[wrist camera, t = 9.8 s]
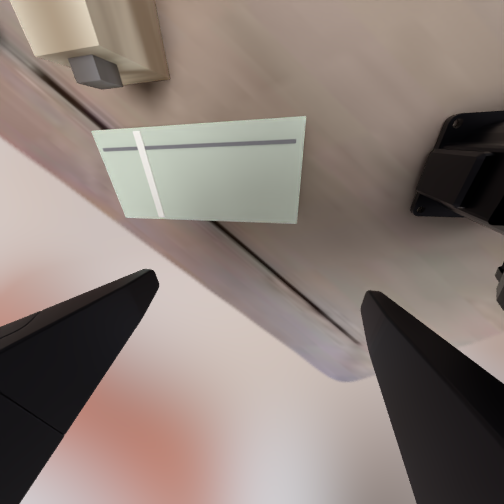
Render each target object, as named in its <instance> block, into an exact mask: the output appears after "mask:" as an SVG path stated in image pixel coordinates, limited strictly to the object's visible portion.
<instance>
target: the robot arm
mask: <svg viewBox="0 0 504 504" xmlns="http://www.w3.org/2000/svg"><path fill="white" fill-rule="evenodd" d="M457 119H458V121H459V122H458V125H457V126H456V127H455V128H453V123H454V121H455V120H457ZM416 190H417V194H416V196H415V199H414V201H413V204H412V206H411V210H410V211H411V213H412V214H414V215H416V216H435V217H466V218H468V219H470V220H472V221H475V222H477V223H479V224H481V225H483V226H486V227H488V228H490V229H492V230H494V231H496V232H499V233H501V234H503V235H504V111H492V112H476V113H461V114H456V115H453V116H451V117H449V118H448V119H447V120H446V122H445V124H444V126H443V128H442V131H441V133H440V136H439V138H438V141H437V143H436V146H435V148H434V150H433V151H432V152H431V153H430V155H429V158H428V160H427V163H426V165H425V168H424V170H423V173H422V175H421V178H420V181H419V183H418V186H417V188H416ZM419 207H422V209H421V210H420V211H417V209H418V208H419ZM495 277H496V278H497V280H498V281H499V284H498V286H497V302H498V303H499V305H500V306H501V308H502V309H503V310H504V263H503V265H502V266H500V267H498V269H497V272H496V274H495ZM158 288H159V282H158V279H157V277H156V274H155V272H154V271H153V270H150V269H143V270H140V271H138V272H136V273H133V274H130V275H128V276H125V277H123V278H120V279H118V280H116V281H113V282H111V283H108V284H106V285H103V286H101V287H98V288H96V289H94V290H91V291H88V292H86V293H83V294H81V295H79V296H76V297H74V298H71V299H69V300H67V301H64V302H61V303H59V304H56V305H54V306H52V307H49V308H47V309H44V310H42V311H39V312H37V313H34V314H32V315H29V316H27V317H24V318H22V319H19V320H17V321H14V322H12V323H9V324H6V325H4V326H1V327H0V504H19V503H20V502H21V500H22V499H23V498H24V496H25V495H26V493H27V492H28V490H29V488H30V487H31V486H32V484H33V483H34V481H35V480H36V478H37V476H38V475H39V473H40V472H41V470H42V469H43V467H44V466H45V464H46V463H47V461H48V460H49V458H50V457H51V455H52V454H53V452H54V451H55V449H56V448H57V446H58V445H59V443H60V442H61V440H62V439H63V437H64V434H66V432H67V431H68V429H69V428H70V426H71V425H72V423H73V422H74V420H75V419H76V417H77V416H78V414H79V413H80V411H81V410H82V408H83V407H84V405H85V404H86V402H87V401H88V399H89V398H90V396H91V395H92V393H93V392H94V390H95V389H96V387H97V385H98V384H99V383H100V381H101V380H102V378H103V377H104V375H105V374H106V372H107V371H108V369H109V368H110V366H111V365H112V363H113V362H114V360H115V359H116V357H117V356H118V354H119V353H120V351H121V350H122V348H123V347H124V345H125V344H126V342H127V341H128V339H129V338H130V336H131V335H132V333H133V332H134V330H135V329H136V327H137V325H138V324H139V323H140V321H141V319H142V318H143V316H144V314H145V312H146V311H147V309H148V307H149V305H150V303H151V301H152V299H153V298H154V296H155V294H156V292H157V290H158ZM361 315H362V320H363V325H364V331H365V336H366V341H367V346H368V350H369V354H370V358H371V361H372V364H373V367H374V370H375V373H376V377H377V380H378V383H379V386H380V389H381V392H382V395H383V399H384V402H385V405H386V408H387V411H388V414H389V418H390V421H391V424H392V427H393V430H394V433H395V437H396V440H397V443H398V446H399V449H400V452H401V455H402V459H403V462H404V465H405V468H406V471H407V474H408V478H409V481H410V484H411V487H412V490H413V493H414V496H415V500H416V503H417V504H504V384H503V383H502V382H500V381H499V380H498V379H496V378H495V377H494V376H492V375H491V374H490V373H488V372H487V371H486V370H484V369H483V368H482V367H480V366H479V365H478V364H476V363H475V362H474V361H472V360H471V359H470V358H468V357H467V356H466V355H464V354H463V353H462V352H460V351H459V350H458V349H456V348H455V347H454V346H452V345H451V344H450V343H448V342H447V341H446V340H444V339H443V338H442V337H440V336H439V335H438V334H436V333H435V332H434V331H432V330H431V329H430V328H428V327H427V326H426V325H424V324H423V323H422V322H420V321H419V320H418V319H416V318H415V317H414V316H412V315H411V314H410V313H408V312H407V311H406V310H404V309H403V308H402V307H400V306H399V305H398V304H396V303H395V302H394V301H392V300H391V299H390V298H388V297H387V296H386V295H384V294H383V293H382V292H380V291H371V290H369V291H367V292H366V294H365V296H364V299H363V302H362V305H361Z"/></svg>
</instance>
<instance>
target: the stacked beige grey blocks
mask: <svg viewBox="0 0 504 504" xmlns="http://www.w3.org/2000/svg"><path fill="white" fill-rule="evenodd" d="M10 2H11V4H12V6H13V9H14V11H15V13H16V15H17V18H18V20H19V22H20V24H21V26H22V29H23V31H24V33H25V35H26V37H27V40H28V42H29V44H30V46H31V49H32V51H33V53H34V55H35V57H38V58H41V59H44V60H48V61H51V62H54V63H57V64H60V65H63V66H66V67H70V68H71V69H72V71H73V74H74V76H75V79H76V81H77V83H79V84H83V85H86V86H90V87H94V88H98V89H110V88H119V87H123V85H128V84H136V83H144V82H152V81H160V80H168V79H170V76H169V71H168V66H167V61H166V56H165V51H164V46H163V41H162V36H161V31H160V26H159V20H158V15H157V10H156V5H155V0H10Z"/></svg>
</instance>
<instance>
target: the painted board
mask: <svg viewBox="0 0 504 504" xmlns="http://www.w3.org/2000/svg"><path fill="white" fill-rule="evenodd" d="M305 124H306V116H299V117H284V118H270V119H256V120H241V121H227V122H212V123H198V124H184V125H169V126H155V127H140V128H126V129H112V130H97V131H91V132H92V134H93V137H94V139H95V142H96V144H97V147H98V149H99V152H100V154H101V157H102V159H103V162H104V164H105V167H106V169H107V172H108V174H109V177H110V179H111V182H112V184H113V187H114V189H115V191H116V194H117V196H118V199H119V201H120V204H121V206H122V209H123V211H124V214H125V216H126V218H150V219H178V220H205V221H233V222H260V223H287V224H297V216H298V205H299V193H300V182H301V170H302V159H303V147H304V136H305Z"/></svg>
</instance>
